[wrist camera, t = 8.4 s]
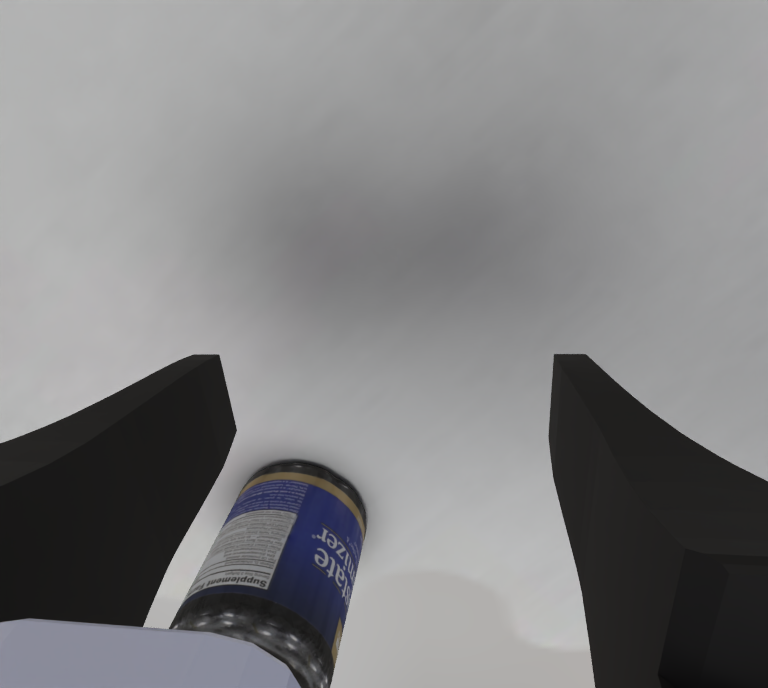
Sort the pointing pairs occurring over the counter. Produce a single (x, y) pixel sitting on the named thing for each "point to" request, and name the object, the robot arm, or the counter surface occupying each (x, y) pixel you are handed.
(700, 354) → the counter surface
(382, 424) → the counter surface
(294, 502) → the pill bottle
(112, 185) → the counter surface
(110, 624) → the robot arm
